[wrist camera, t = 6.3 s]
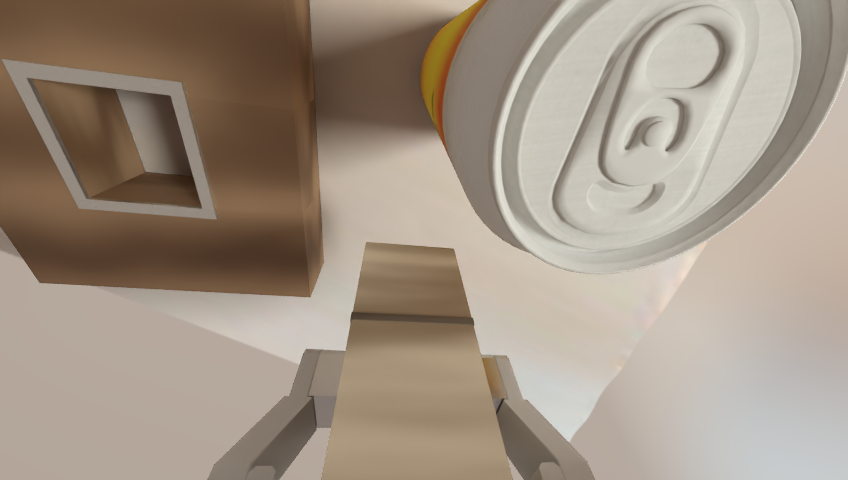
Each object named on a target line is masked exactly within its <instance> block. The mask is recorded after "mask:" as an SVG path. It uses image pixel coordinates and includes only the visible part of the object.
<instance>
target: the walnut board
mask: <svg viewBox="0 0 848 480" xmlns="http://www.w3.org/2000/svg"><path fill="white" fill-rule="evenodd" d="M115 89H122V90H130V91H138V92H146V93H154V94H162V95H170V96H171V99H172V103H173V106H174V110H175V114H176V117H177V121H178V124H179V128H180V131H181V135H182V138H183V142H184V146H185V149H186V153H187V156H188V160H189V163H190V167H191V170H192V174H193V177H190V176H180V175H169V174H159V173H148V172H145V170H144V167H143V164H142V162H141V159H140V156H139V153H138V151H137V148H136V145H135V142H134V140H133V137H132V134H131V131H130V129H129V126H128V123H127V121H126V118H125V115H124V112H123V110H122V107H121V104H120V101H119V99H118V96H117V93H116V90H115ZM0 226H1V227H2V229H3V230H4V232H5V233H6V235H7V236H8V238H9V239H10V240H11V242H12V243H13V245H14V246H15V248H16V249H17V251H18V252H19V253H20V255H21V256H22V258H23V259H24V261H25V262H26V264H27V265H28V267H29V268H30V269H31V271H32V272H33V274H34V275H35V277H36V278H37V280H38V281H39V282H40V283H53V284H72V285H90V286H109V287H128V288H146V289H165V290H184V291H203V292H221V293H240V294H259V295H278V296H296V297H311V294H312V292H313V289H314V286H315V284H316V281H317V279H318V276H319V273H320V271H321V268H322V266H323V263H324V259H323V241H322V223H321V205H320V187H319V169H318V151H317V133H316V114H315V96H314V78H313V60H312V42H311V24H310V6H309V0H0Z"/></svg>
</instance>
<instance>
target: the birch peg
mask: <svg viewBox="0 0 848 480" xmlns="http://www.w3.org/2000/svg"><path fill="white" fill-rule="evenodd" d="M321 480H513V478H512V475H511V471H510V467H509V463H508V459H507V455H506V451H505V447H504V443H503V439H502V435H501V431H500V428H499V424H498V420H497V416H496V412H495V408H494V404H493V400H492V396H491V392H490V388H489V385H488V381H487V377H486V373H485V369H484V365H483V361H482V357H481V353H480V349H479V345H478V341H477V338H476V334H475V330H474V321H473V318H471V314H470V310H469V306H468V302H467V298H466V294H465V291H464V287H463V283H462V279H461V275H460V271H459V267H458V263H457V259H456V255H455V251H454V249H451V248H438V247H425V246H412V245H398V244H385V243H372V242H366V246H365V251H364V256H363V262H362V267H361V272H360V277H359V283H358V288H357V293H356V299H355V304H354V309H353V312H352V314H351V325H350V330H349V336H348V341H347V346H346V351H345V357H344V362H343V367H342V372H341V378H340V383H339V388H338V394H337V399H336V404H335V409H334V415H333V420H332V425H331V431H330V436H329V441H328V447H327V452H326V457H325V462H324V468H323V473H322V478H321Z"/></svg>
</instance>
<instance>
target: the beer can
mask: <svg viewBox="0 0 848 480" xmlns="http://www.w3.org/2000/svg"><path fill="white" fill-rule="evenodd" d="M847 69H848V0H479V1H478V2H476V3H475V4H473V5H472V6H471V7H469V8H468V9H467V10H465V11H464V12H462V13H461V14H460V15H458V16H457V17H455V18H454V19H453V20H451V21H450V22H449V23H447V24H446V25H445V26H444V27H443V28H442V29H441V30H440V31H439V32H438V33H437V34H436V35H435V37H434V38H433V40H432V41H431V43H430V44H429V47H428V49H427V51H426V53H425V56H424V59H423V63H422V68H421V91H422V96H423V99H424V102H425V105H426V107H427V109H428V112H429V114H430V116H431V118H432V120H433V123H434V125H435V127H436V129H437V132H438V134H439V136H440V138H441V140H442V143H443V145H444V147H445V149H446V151H447V154H448V156H449V158H450V160H451V162H452V165H453V167H454V169H455V171H456V174H457V176H458V178H459V180H460V182H461V185H462V187H463V189H464V191H465V193H466V196H467V198H468V200H469V202H470V203H471V205H472V207H473V209H474V210H475V212H476V213H477V215H478V216H479V217H480V219H481V220H482V221H483V223H484V224H485V225H486V226H487V227H488V228H489V229H490V230H491V231H492V232H493V233H495V234H496V235H497V236H498V237H500V238H501V239H502V240H504V241H505V242H507V243H509V244H511V245H512V246H514V247H516V248H519V249H521V250H523V251H526V252H529V253H531V254H532V255H534V256H535V257H537V258H539V259H541V260H542V261H544V262H546V263H548V264H550V265H553V266H555V267H558V268H561V269H564V270H568V271H572V272H579V273H586V274H613V273H620V272H628V271H632V270H637V269H641V268H645V267H648V266H652V265H655V264H658V263H661V262H664V261H666V260H669V259H671V258H674V257H676V256H679V255H681V254H683V253H685V252H687V251H689V250H691V249H693V248H695V247H697V246H699V245H700V244H702V243H704V242H706V241H708V240H709V239H711V238H712V237H714V236H715V235H717V234H719V233H720V232H722V231H723V230H725V229H726V228H727V227H729V226H730V225H732V224H733V223H734V222H736V221H737V220H738V219H740V218H741V217H742V216H743V215H745V214H746V213H747V212H748V211H749V210H751V209H752V208H753V207H754V206H755V205H757V204H758V203H759V202H760V201H761V200H762V199H763V198H764V197H765V196H766V195H767V194H768V193H769V192H770V191H771V190H772V189H773V188H774V187H775V186H776V185H777V184H778V183H779V182H780V181H781V180H782V179H783V178H784V177H785V175H786V174H787V173H788V172H789V171H790V169H791V168H792V167H793V165H795V163H796V162H797V161H798V160H799V159H800V157H801V156H802V155H803V153H804V152H805V150H806V149H807V147H808V146H809V144H810V143H811V142H812V140H813V139H814V137H815V136H816V134H817V133H818V131H819V129H820V127H821V126H822V124H823V122H824V121H825V119H826V118H827V116H828V113H829V112H830V110H831V107H832V106H833V104H834V101H835V100H836V98H837V96H838V93H839V90H840V88H841V85H842V83H843V80H844V78H845V76H846V72H847Z"/></svg>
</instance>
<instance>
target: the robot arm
mask: <svg viewBox="0 0 848 480" xmlns="http://www.w3.org/2000/svg"><path fill="white" fill-rule="evenodd" d="M344 357H345V351H337V350H320V349H306V350H305V352H304V353H303V356H302V359H301V362H300V365H299V368H298V371H297V374H296V377H295V380H294V383H293V387H292V390H291V393H290V396H284V397H283V398H282V399H281V400H280V401H279V402H278V403H277V404H276V405H275V406H274V407H273V408H272V409H271V410H270V411H269V412H268V413H267V414H266V415H265V416H264V417H263V418H262V419H261V420H260V421H259V422H258V423H257V424H256V425H255V426H254V427H253V428H251V429H250V430H249V431H248V432H247V433H246V434H245V435H244V436H243V437H242V438H241V439H240V440H239V441H238V442H237V443H236V444H235V445H234V446H233V447H232V448H231V449H230V450H229V451H228V452H227V453H226V454H225V455H224V456H223V457H222V458H221V459H220V460H219V461H218V462H217V463H216V464H214V467H213V469H212V471H211V473H210V475H209V478H208V480H279V479H280V478H281V476H282V475H283V474H284V472H285V471H286V469H287V468H288V467H289V466H290V464H291V463H292V462H293V460H294V459H295V458H296V456H297V455H298V454H299V452H300V451H301V450H302V448H303V447H304V446H305V444H306V443H307V442H308V440H309V439H310V438H311V436H312V435H313V434H314V432H315V431H316V428H331V425H332V420H333V415H334V409H335V404H336V399H337V394H338V388H339V383H340V378H341V372H342V367H343V362H344ZM481 357H482V361H483V365H484V369H485V373H486V377H487V381H488V385H489V388H490V392H491V396H492V400H493V404H494V408H495V412H496V416H497V420H498V424H499V428H500V431H501V435H502V439H503V443H504V447H505V451H506V455H507V456H508V457H509V459H510V460H511V462H512V463H513V464H514V466H515V467H516V469H517V470H518V472H519V473H520V475H521V476H522V477H523V479H524V480H595V478H594V476H593V474H592V472H591V469H590V467H589V465H588V463H587V461H586V460H585V459H584V458H583V457H582V456H581V455H580V454H579V452H578V451H577V450H576V449H575V448H573V446H572V445H571V444H570V443H569V442H568V441H567V440H566V439H565V438H564V437H563V436H562V435H561V434H560V433H559V432H558V431H557V430H556V429H555V428H554V427H553V426H552V425H551V424H550V423H549V422H548V421H547V420H546V419H545V418H544V417H543V415H542V414H541V413H540V412H539V411H538V410H537V409H536V408H535V407H534V406H533V405H532V404H531V403H530V402H529V401H528V400H523V398H522V395H521V392H520V389H519V386H518V383H517V380H516V378H515V375H514V372H513V369H512V366H511V363H510V360H509V358H508V357H507V356H503V355H481Z"/></svg>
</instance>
